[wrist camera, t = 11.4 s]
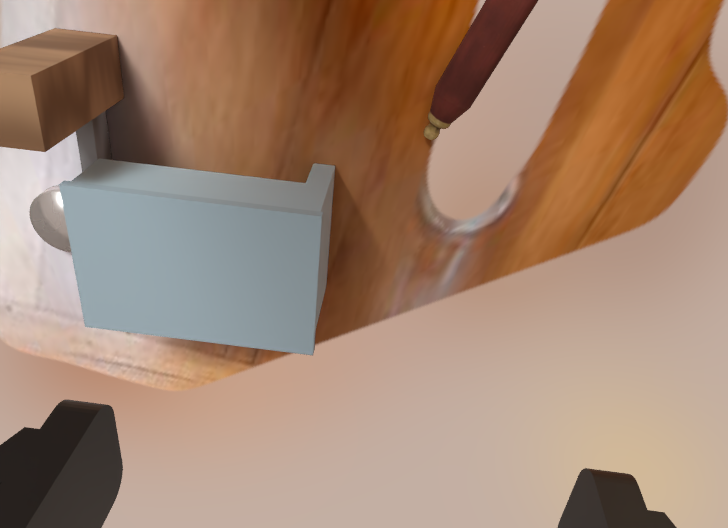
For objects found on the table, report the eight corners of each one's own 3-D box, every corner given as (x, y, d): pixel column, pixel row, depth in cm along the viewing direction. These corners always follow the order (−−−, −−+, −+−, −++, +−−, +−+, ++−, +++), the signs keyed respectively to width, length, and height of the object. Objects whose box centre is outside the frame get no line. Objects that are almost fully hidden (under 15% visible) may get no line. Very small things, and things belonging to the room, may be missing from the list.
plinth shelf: (118, 137, 42) (58, 184, 35) (338, 163, 42) (321, 216, 35) (133, 264, 48) (85, 326, 41) (328, 288, 47) (312, 355, 41)
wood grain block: (55, 28, 39) (-49, 66, 30) (117, 35, 39) (30, 75, 30) (90, 245, 47) (17, 322, 39) (141, 251, 47) (79, 330, 39)
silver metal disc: (33, 180, 45) (23, 188, 44) (100, 187, 45) (91, 195, 44) (46, 239, 48) (37, 248, 46) (109, 246, 48) (101, 255, 46)
